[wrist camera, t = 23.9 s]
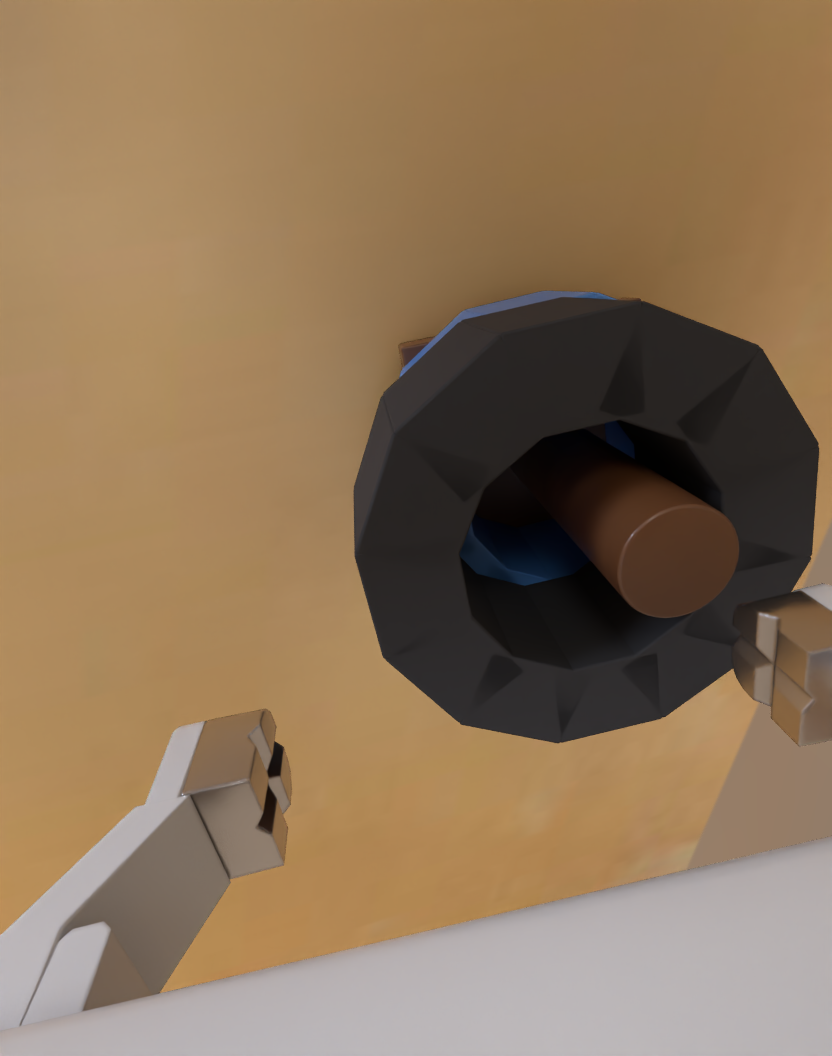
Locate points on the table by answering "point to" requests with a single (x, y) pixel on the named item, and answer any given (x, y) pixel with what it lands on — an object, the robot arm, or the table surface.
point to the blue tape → (535, 545)
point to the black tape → (587, 596)
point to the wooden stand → (616, 517)
